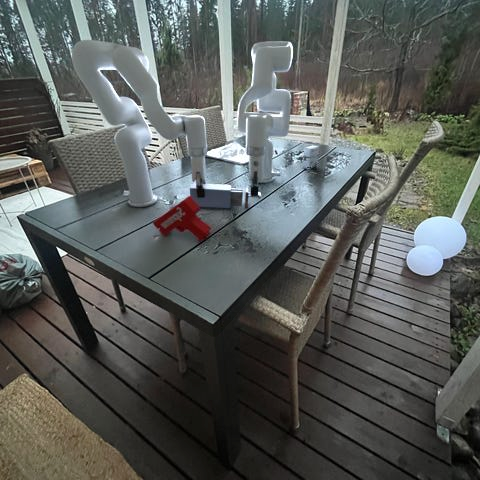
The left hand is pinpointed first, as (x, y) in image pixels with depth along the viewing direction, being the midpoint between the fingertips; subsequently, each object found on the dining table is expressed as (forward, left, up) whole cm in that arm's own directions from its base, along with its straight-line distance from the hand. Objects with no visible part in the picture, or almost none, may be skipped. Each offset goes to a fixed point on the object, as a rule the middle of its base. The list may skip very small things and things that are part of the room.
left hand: (201, 193), depth 115 cm
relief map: (-3, +82, -6) cm, 82 cm away
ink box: (+47, +64, -6) cm, 79 cm away
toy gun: (0, -24, -6) cm, 25 cm away
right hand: (+22, +3, 0) cm, 22 cm away
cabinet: (+3, +1, -6) cm, 7 cm away
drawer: (+14, +3, -5) cm, 15 cm away
